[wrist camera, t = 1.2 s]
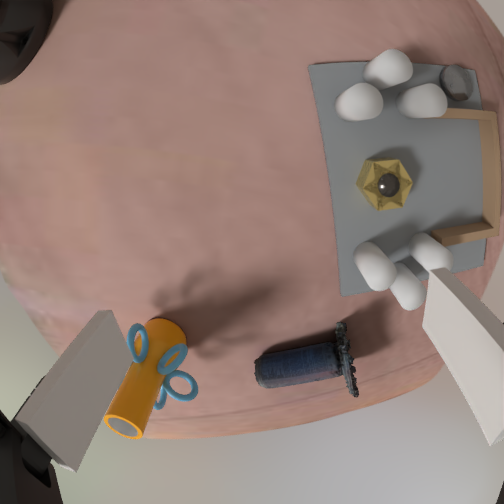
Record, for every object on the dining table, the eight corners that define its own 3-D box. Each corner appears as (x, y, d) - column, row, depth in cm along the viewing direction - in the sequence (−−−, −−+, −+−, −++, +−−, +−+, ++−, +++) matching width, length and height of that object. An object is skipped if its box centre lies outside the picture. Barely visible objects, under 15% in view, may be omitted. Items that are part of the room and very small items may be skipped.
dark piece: (343, 312, 34) (252, 335, 37) (351, 343, 27) (240, 369, 30) (356, 368, 36) (273, 388, 38) (364, 405, 28) (266, 425, 31)
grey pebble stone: (435, 64, 21) (441, 62, 20) (462, 68, 20) (468, 66, 19) (443, 100, 22) (448, 99, 21) (469, 102, 22) (475, 101, 20)
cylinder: (211, 371, 37) (190, 465, 23) (143, 367, 38) (105, 448, 24) (195, 294, 33) (153, 393, 19) (117, 295, 34) (54, 375, 20)
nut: (352, 161, 26) (359, 163, 23) (400, 156, 25) (411, 158, 23) (357, 206, 27) (365, 213, 25) (404, 200, 26) (414, 206, 24)
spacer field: (307, 67, 23) (316, 50, 18) (470, 71, 21) (501, 65, 15) (340, 293, 32) (352, 322, 26) (479, 263, 29) (504, 283, 24)
